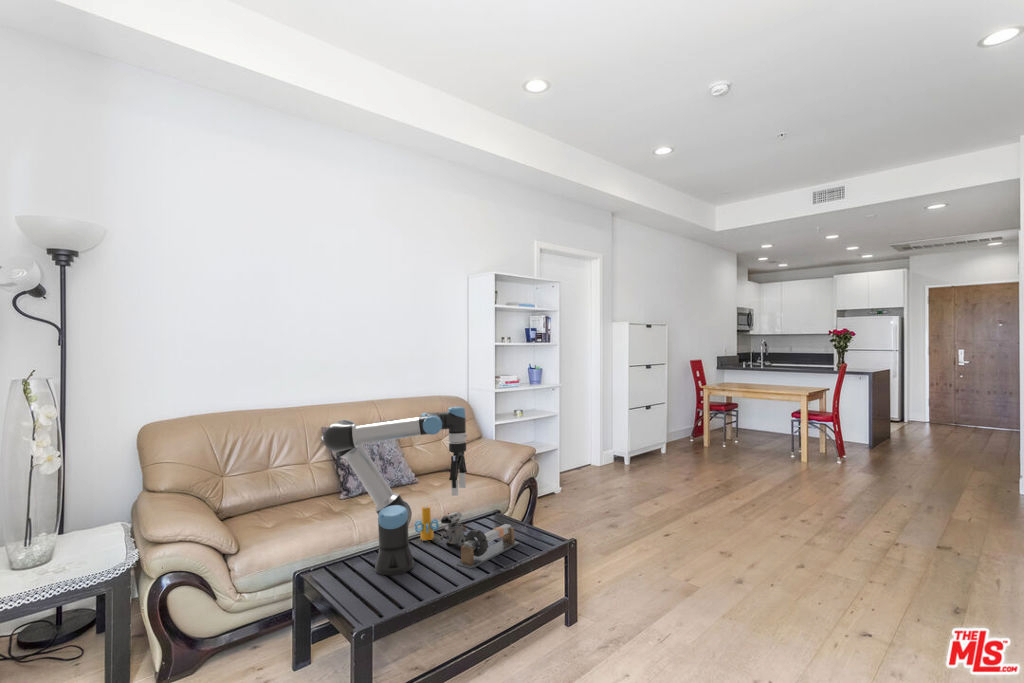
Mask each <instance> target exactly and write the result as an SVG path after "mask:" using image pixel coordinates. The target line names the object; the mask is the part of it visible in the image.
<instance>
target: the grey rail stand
mask: <svg viewBox="0 0 1024 683" xmlns="http://www.w3.org/2000/svg"><path fill="white" fill-rule="evenodd" d="M484 534H485V536H486V537H487V538H486V539H485V540H488V544H489V543H491V542H493V541H495V540H497V539H500V538H502V539H501V540H499V541H498V542H495V543H494V544H492V545H490V546H488V548H487V551H486V552H485V553H484V554H483V555H481V556H479V557H477V556H474V553H473V550H475V549H477V548H480V545H479V541H478V539H477V538H475V537H474V538H473V539H471V540H469V541H467V542H465V543H464V545H463V546H461V549H460V561H458V562H456V565H457V566H460V567H463V568H467V569H474V568H476V567H478V566H480V565H481V564H483V563H485V562H487V561H489V560H491V559H494V558H495V557H496V556H499V555H501V554H502V553H504V552H507V551H509V550H510V549H512V548H513V547H515V546H517V545H519V541H516V540H515V528H514V527H513V526H512V524H508V523H504V524H502V525H500V526H497V527H495V528H493V529H491V530H489V531H487V532H485V533H484Z"/></svg>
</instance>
